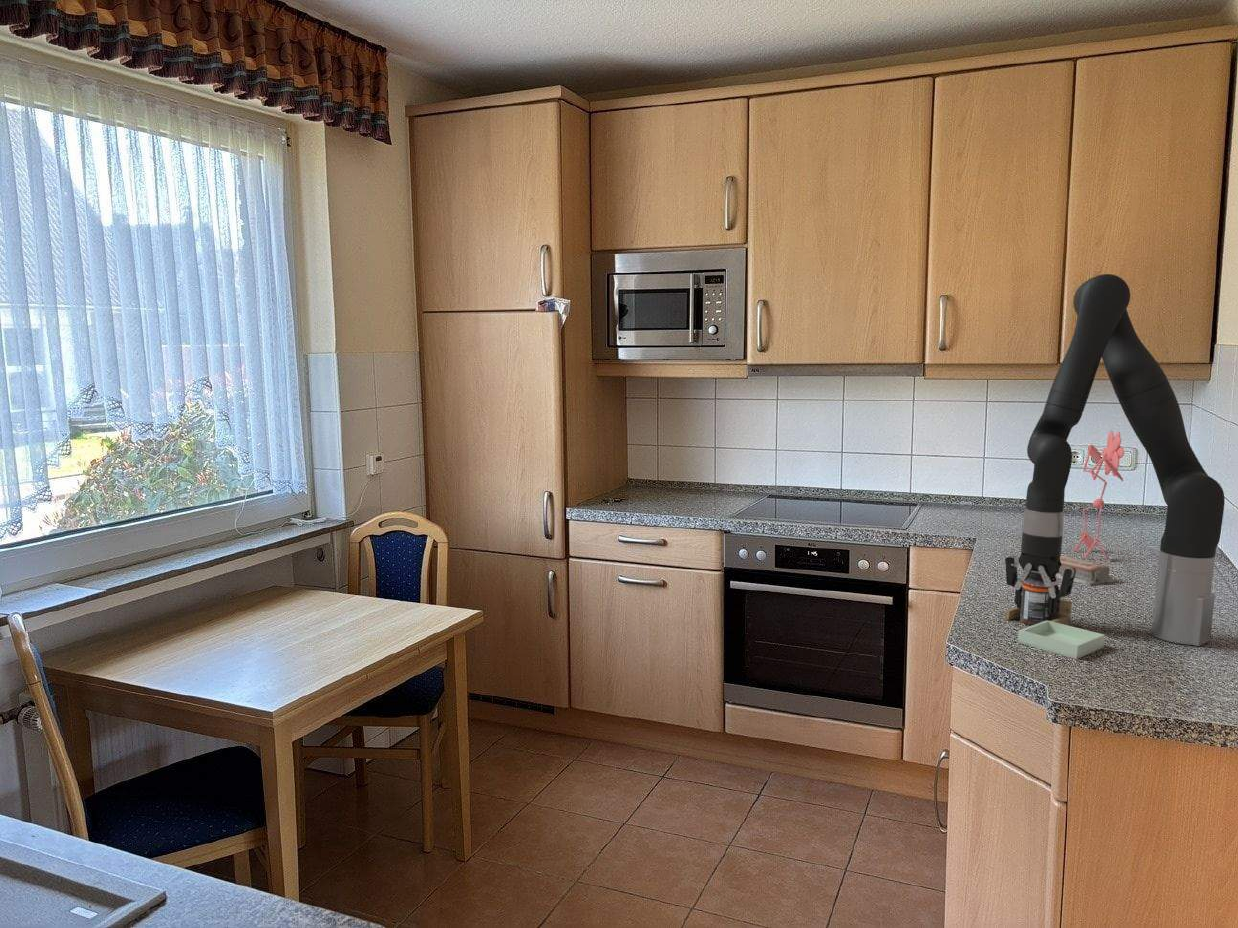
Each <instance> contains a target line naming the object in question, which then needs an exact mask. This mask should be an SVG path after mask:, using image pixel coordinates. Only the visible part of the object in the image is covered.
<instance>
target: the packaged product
mask: <svg viewBox="0 0 1238 928" xmlns="http://www.w3.org/2000/svg"><path fill="white" fill-rule="evenodd" d="M1060 561H1061V564H1062V566H1065V567H1068V568H1072V567H1073V568H1075V569H1076V573H1075V577H1074V582H1073V583H1078V584H1081V583H1082V584H1081V585H1085V586H1091V585H1092V586H1096V585H1102V584H1106V583H1105V582H1108V583H1112V582H1111V581H1113V582H1114V577H1113V576H1110V567H1109V566H1108V565H1105V564H1101V563H1098V562H1097V563H1096V562H1094V563H1093V561H1089V560H1086V559H1080V558H1076V557H1071V556H1067V555H1062V554H1061V557H1060ZM1056 576H1057V577H1058V578H1057V579H1060V578H1061V579H1060V580H1062V579H1063V577H1062V576H1061V572H1060V571H1059V572H1058V573H1057V574H1056ZM1101 583H1102V584H1101ZM1092 586H1091V587H1092Z"/></svg>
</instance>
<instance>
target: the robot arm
mask: <svg viewBox="0 0 1238 928" xmlns="http://www.w3.org/2000/svg"><path fill="white" fill-rule="evenodd" d="M1130 291H1131V290H1130V287H1129V285H1128V283H1127V282H1126V281H1125V280H1124V279H1123V278H1122V277H1120V276H1118V275H1116V274H1111V273H1110V274H1109V273H1106V274H1104V273H1103V274H1098V275H1095V276H1093V277H1091V278H1089V279H1087V280H1086V281H1084V282H1083V283H1082V284H1081V285H1080V286H1078V288H1077V289H1076V291H1075V293H1074V296H1073V302H1072V303H1073V308H1074V312H1075V313H1076V315H1077V317H1076V324H1075V328H1074V332H1073V334H1072V338H1071V341H1070V343H1069V347H1068V348H1067V351H1066V353H1065V356H1064V358H1063V360H1062V362H1061V364H1060V366H1059V368H1058V369H1057V372H1056V374H1055V377H1054V379H1053V382H1052V383H1051V387H1050V389H1049V392H1048V396H1047V399H1046V401H1045V402H1046V403H1045V405H1044V408H1043V411H1042V414H1041V416H1040V417H1039V418H1038V421H1037V423H1036V425H1035V427H1034V429H1033V431H1032V433H1031V435H1030V438H1029V440H1028V444H1027V447H1026V451H1027V457H1028V459H1029V461H1030V462H1031V463H1032V464H1033V473H1032V479H1031V482H1030V483H1029V484H1028V486H1027V490H1026V497H1025V510H1024V516H1023V520H1022V521H1023V522H1022V528H1021V529H1022V532H1021V544H1020V551H1021V553H1020V555H1019V556H1015V555H1010V556H1007V557H1005V559H1004V563H1005V578H1006V580H1005V581H1006V585H1008V586H1010V587H1013V589H1015V593H1014V604H1015V605H1016V607H1017V608H1021V598H1022V584H1023V581H1024V580H1025V579H1026V578H1027V577H1028V574H1029V572H1030V570H1034V571H1039V572H1040V574H1041V576H1042V579H1043V581H1044V584H1045V586H1046V587H1047V588H1048V591H1049V594H1050V598H1049V605H1048V615H1051V616H1053V615H1055V614H1056V613H1058V611H1059V605H1060V599H1062V598H1064V597H1068V596H1071V593H1072V589H1073V584H1074V583H1075V582H1074V577H1075V573H1076V569H1075V568H1073V567H1072V568H1068V567H1065V566H1062V564H1061V561H1060V557H1061V555H1062V546H1063V545H1062V544H1063V537H1064V536H1063V534H1064V524H1065V523H1064V522H1065V521H1064V520H1065V519H1064V507H1065V490H1066V486H1067V483H1068V480H1069V475H1070V472H1071V468H1072V463H1073V452H1072V447H1071V445H1070V444H1069V442H1068V438H1069V436H1070V433H1071V432H1072V429H1073V428H1074V427H1075V426H1076V425H1078V423H1079V422H1080V420H1081V418H1082V416H1083V412H1084V411H1085V408H1086V405H1087V402H1088V398H1089V396H1090V392H1091V391H1092V390H1091V389H1092V387H1093V384H1094V380H1095V377H1096V375H1097V371H1098V370H1099V365H1100V363H1101V360H1102V362H1103V365H1104V368H1105V370H1106V374H1107V375H1108V378H1109V380H1110V384H1111V386H1112V388H1113V391H1114V394H1115V396H1116V398H1117V400H1118V402H1119V405H1120V407H1121V409H1122V411H1123V413H1124V415H1125V417H1126V420H1128V422H1129V425H1130V427H1131V428H1132V430H1133V431H1134V434H1135V435H1136V437H1137V439H1138V440H1139V442H1140V443H1141V445H1142V446H1143V448H1144V449H1145V451H1146V453H1147V455H1148V457H1149V458H1150V461H1151V464H1152V467H1153V470H1154V471H1155V475H1156V478H1157V480H1158V483H1159V486H1160V487H1159V488H1160V490H1161V494H1162V497H1163V500H1164V503H1165V504H1166V506H1167V508H1166V518H1165V526H1164V527H1165V528H1164V532H1163V534H1162V536H1161V539H1160V545H1159V555H1158V556H1159V557H1158V567H1157V577H1156V588H1155V598H1154V607H1153V617H1152V618H1153V620H1152V623H1151V624H1152V629H1151V634H1152V636H1153V637H1156V638H1157V639H1160V640H1162V641H1165V642H1171V643H1175V644H1181V645H1191V646H1192V645H1193V646H1197V647H1200V646H1203V645H1204V644H1206V643H1208V642H1210V641H1211V636H1212V628H1213V627H1212V626H1213V619H1214V618H1213V615H1214V607H1215V597H1216V596H1215V595H1216V594H1215V593H1213V592H1212V590H1213V589H1212V588H1213V580H1214V571H1215V563H1216V562H1215V561H1216V553H1217V547H1218V545H1219V543H1220V539H1221V534H1222V533H1221V532H1222V526H1223V517H1224V510H1225V493H1224V489H1223V488H1222V486H1221V484H1220V483H1219V482H1218V481H1217V480H1216V479H1214V478H1212V477H1211V476H1209V474H1208V473H1207V472H1206V470H1205V468H1203V467H1204V466H1202V464H1201V463H1200V460H1199V459H1198V457H1197V456H1196V454H1195V451H1193V448H1192V447H1191V444H1190V442H1189V439H1188V436H1187V431H1186V427H1185V423H1184V419H1183V415H1182V411H1181V408H1180V404H1179V401H1178V399H1177V395H1176V394H1175V392H1174V389H1173V387H1172V386H1171V384H1170V381H1169V379H1168V377H1167V375H1166V374H1165V372H1164V370H1163V368H1162V366H1160V364H1159V363H1158V362H1157V360H1156V359H1155V357H1154V355H1152V353H1151V352H1150V351H1149V350H1148V349H1147V347H1146V346H1145V345H1144V343H1142V341H1141V338H1139V336H1138V335H1137V332H1136V330H1135V327H1134V326H1133V322H1132V320H1131V318H1130V315H1129V311H1128V309H1127V308H1128V307H1129V304H1130V301H1131V292H1130ZM1019 565H1020V567H1021V569H1022V572H1021V574H1020V575H1019V577H1018V567H1019ZM1059 571H1060V572H1061V576H1062V577H1063V579H1061V583H1060V582H1059V578H1057V576H1056V574H1057V573H1058V572H1059ZM1059 584H1060V585H1059Z"/></svg>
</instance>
